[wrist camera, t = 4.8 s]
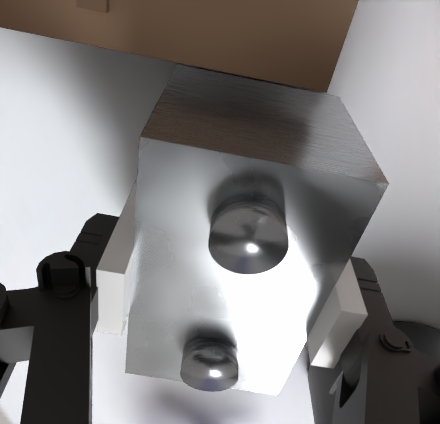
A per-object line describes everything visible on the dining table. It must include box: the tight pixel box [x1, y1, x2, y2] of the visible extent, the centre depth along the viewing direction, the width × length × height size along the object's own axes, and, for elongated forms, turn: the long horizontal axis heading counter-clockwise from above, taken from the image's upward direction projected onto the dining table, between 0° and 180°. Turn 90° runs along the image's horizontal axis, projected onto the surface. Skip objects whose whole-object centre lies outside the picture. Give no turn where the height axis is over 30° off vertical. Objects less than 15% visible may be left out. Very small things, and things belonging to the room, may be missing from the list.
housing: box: [125, 64, 389, 395], centre depth 14 cm, size 10×6×7 cm, turn 169°
